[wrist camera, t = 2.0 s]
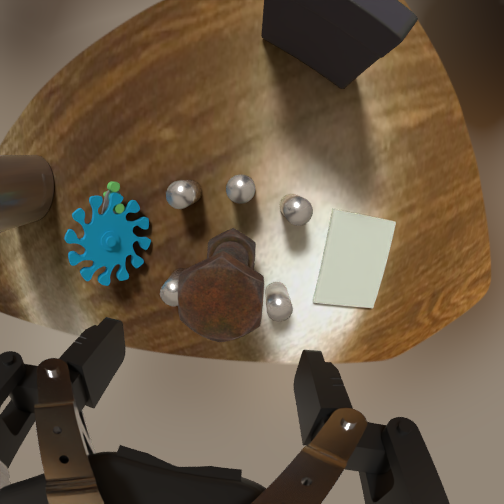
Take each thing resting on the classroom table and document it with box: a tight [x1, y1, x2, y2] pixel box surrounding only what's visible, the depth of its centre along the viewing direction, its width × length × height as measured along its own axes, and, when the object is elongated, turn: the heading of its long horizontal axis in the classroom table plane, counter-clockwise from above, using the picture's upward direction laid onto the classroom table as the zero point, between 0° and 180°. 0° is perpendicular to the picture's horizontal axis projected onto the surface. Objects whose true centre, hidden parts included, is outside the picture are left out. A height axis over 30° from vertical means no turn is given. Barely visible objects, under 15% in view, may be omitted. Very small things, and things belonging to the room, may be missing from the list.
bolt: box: [178, 228, 264, 342], centre depth 23 cm, size 6×5×15 cm
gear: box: [65, 182, 151, 286], centre depth 28 cm, size 11×6×10 cm
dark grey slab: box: [262, 0, 418, 89], centre depth 17 cm, size 11×4×15 cm, turn 55°
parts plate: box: [313, 209, 396, 308], centre depth 31 cm, size 8×11×1 cm
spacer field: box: [160, 175, 313, 321], centre depth 28 cm, size 14×15×4 cm
